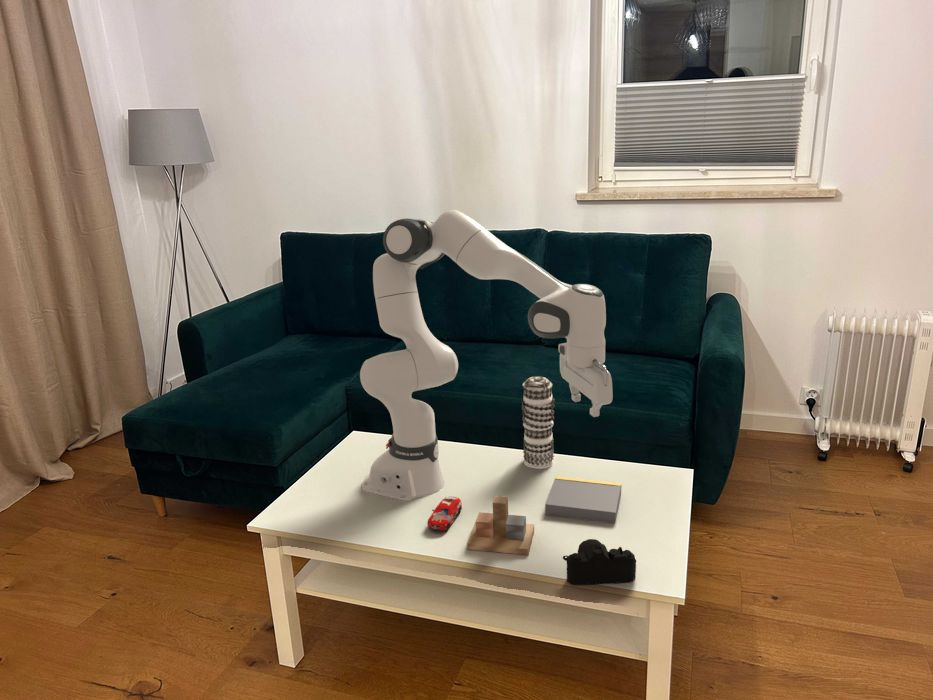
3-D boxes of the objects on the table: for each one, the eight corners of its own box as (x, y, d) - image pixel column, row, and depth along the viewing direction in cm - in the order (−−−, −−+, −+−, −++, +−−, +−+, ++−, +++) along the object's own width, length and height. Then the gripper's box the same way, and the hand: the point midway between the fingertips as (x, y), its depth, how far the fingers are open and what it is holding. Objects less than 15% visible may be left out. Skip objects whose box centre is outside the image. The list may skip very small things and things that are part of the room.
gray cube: (506, 539, 165) (505, 524, 163) (509, 529, 168) (508, 514, 167) (523, 540, 164) (523, 525, 162) (526, 531, 167) (525, 516, 166)
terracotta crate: (476, 536, 166) (475, 521, 165) (479, 526, 170) (479, 512, 168) (493, 538, 165) (492, 523, 164) (496, 528, 169) (495, 513, 168)
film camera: (627, 560, 159) (628, 525, 156) (638, 588, 150) (639, 552, 147) (558, 563, 159) (558, 528, 156) (565, 592, 150) (565, 555, 147)
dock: (545, 514, 178) (545, 503, 177) (555, 486, 190) (555, 475, 189) (615, 523, 173) (615, 512, 172) (621, 493, 185) (621, 483, 184)
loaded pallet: (467, 552, 165) (465, 509, 161) (476, 528, 174) (474, 486, 170) (528, 558, 161) (527, 514, 158) (534, 533, 171) (533, 490, 167)
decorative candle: (551, 471, 198) (550, 387, 190) (518, 467, 201) (516, 384, 193) (558, 456, 206) (558, 374, 198) (526, 452, 209) (525, 372, 201)
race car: (445, 535, 170) (444, 520, 169) (424, 531, 172) (423, 516, 171) (465, 508, 182) (465, 494, 181) (445, 504, 184) (445, 490, 182)
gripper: (620, 366, 160) (618, 422, 164) (578, 339, 178) (577, 391, 183) (595, 370, 158) (594, 427, 163) (555, 342, 176) (555, 395, 181)
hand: (585, 408), depth 173 cm, fingers open, 8 cm apart
